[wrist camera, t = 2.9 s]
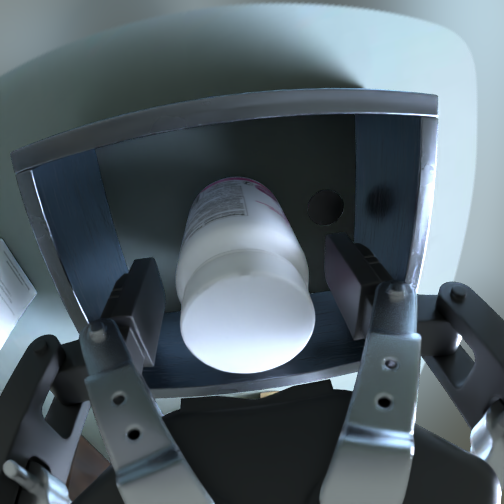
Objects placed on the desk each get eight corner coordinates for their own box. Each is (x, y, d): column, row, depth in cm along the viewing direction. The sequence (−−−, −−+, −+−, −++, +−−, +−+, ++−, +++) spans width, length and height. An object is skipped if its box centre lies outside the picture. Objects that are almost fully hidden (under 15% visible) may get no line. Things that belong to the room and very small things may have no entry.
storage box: (137, 324, 19) (118, 399, 14) (77, 127, 13) (9, 152, 8) (360, 294, 20) (398, 361, 14) (366, 88, 13) (438, 95, 8)
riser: (35, 426, 26) (13, 507, 16) (80, 433, 26) (62, 525, 16) (87, 473, 33) (78, 538, 23) (128, 478, 33) (123, 548, 23)
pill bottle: (295, 234, 17) (347, 346, 10) (219, 272, 18) (221, 397, 10) (255, 156, 15) (290, 229, 7) (171, 203, 16) (132, 309, 8)
